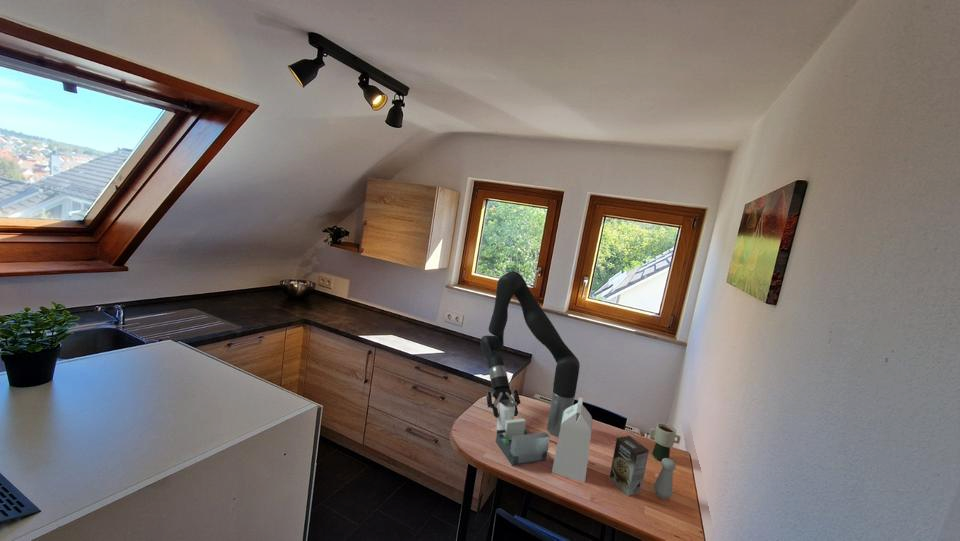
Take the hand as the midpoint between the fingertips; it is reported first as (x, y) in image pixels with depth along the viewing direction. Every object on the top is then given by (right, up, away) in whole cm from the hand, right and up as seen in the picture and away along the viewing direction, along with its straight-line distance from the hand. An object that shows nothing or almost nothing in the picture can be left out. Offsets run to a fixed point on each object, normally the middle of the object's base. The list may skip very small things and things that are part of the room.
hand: (506, 416), depth 160 cm
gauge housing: (+4, -9, -12) cm, 15 cm away
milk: (+22, -12, -18) cm, 31 cm away
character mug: (+61, -15, -5) cm, 63 cm away
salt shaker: (+51, -17, -27) cm, 60 cm away
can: (-1, -6, +2) cm, 7 cm away
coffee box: (+39, -15, -25) cm, 49 cm away
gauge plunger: (0, -6, -7) cm, 9 cm away
